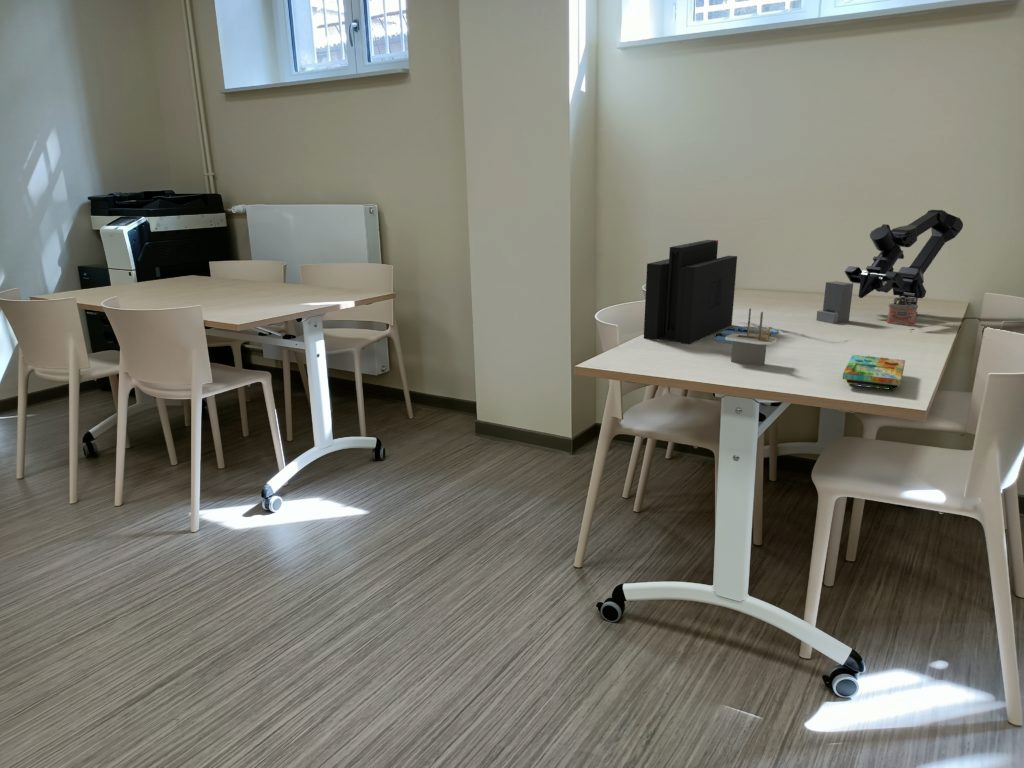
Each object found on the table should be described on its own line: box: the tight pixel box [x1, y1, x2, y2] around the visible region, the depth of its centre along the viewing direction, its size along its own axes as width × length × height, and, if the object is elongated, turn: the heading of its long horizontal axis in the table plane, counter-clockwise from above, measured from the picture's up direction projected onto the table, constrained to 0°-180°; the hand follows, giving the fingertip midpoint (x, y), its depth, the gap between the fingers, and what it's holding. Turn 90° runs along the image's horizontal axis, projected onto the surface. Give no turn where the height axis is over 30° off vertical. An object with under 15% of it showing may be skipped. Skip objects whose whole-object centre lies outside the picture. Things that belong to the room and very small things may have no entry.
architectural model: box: [726, 308, 777, 367], centre depth 192 cm, size 21×25×14 cm
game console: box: [643, 239, 779, 345], centre depth 224 cm, size 35×30×27 cm
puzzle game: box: [842, 354, 906, 390], centre depth 176 cm, size 12×5×20 cm
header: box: [815, 309, 839, 325], centre depth 240 cm, size 8×6×3 cm
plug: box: [822, 280, 854, 324], centre depth 239 cm, size 5×6×12 cm
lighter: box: [886, 296, 919, 331], centre depth 235 cm, size 8×3×10 cm, turn 62°
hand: (860, 297), depth 245 cm, fingers closed
